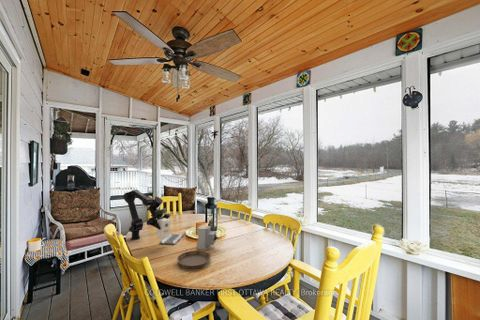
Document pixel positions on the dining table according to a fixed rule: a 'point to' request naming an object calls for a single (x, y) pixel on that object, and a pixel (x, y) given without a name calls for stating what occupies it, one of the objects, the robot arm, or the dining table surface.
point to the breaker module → (163, 228)
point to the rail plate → (172, 239)
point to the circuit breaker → (205, 237)
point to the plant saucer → (193, 259)
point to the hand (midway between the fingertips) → (164, 228)
